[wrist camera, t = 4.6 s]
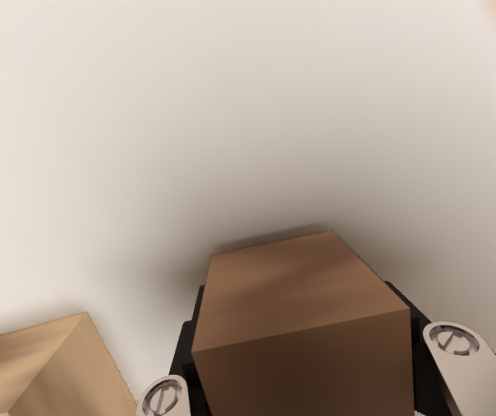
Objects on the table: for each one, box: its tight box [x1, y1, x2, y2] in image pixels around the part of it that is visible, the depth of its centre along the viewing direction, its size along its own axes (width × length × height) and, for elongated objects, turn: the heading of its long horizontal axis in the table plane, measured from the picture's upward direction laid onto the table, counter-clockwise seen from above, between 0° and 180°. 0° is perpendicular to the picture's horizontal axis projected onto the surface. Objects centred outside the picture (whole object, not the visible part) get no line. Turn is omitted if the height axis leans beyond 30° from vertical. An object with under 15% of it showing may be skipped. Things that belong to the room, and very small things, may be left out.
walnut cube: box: [191, 230, 415, 416], centre depth 9 cm, size 5×5×5 cm
